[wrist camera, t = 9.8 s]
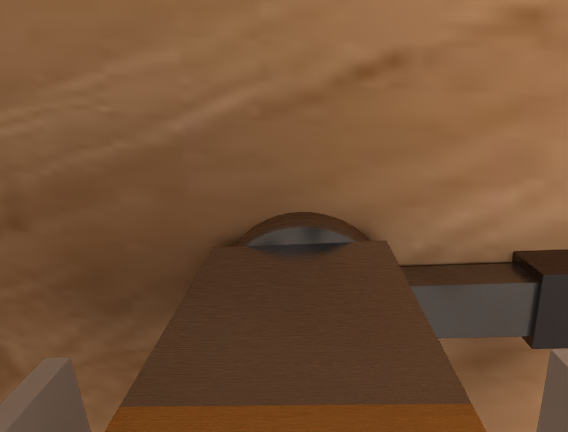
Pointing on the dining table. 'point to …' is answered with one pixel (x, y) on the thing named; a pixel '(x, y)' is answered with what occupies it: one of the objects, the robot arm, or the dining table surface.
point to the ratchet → (458, 285)
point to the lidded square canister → (298, 349)
